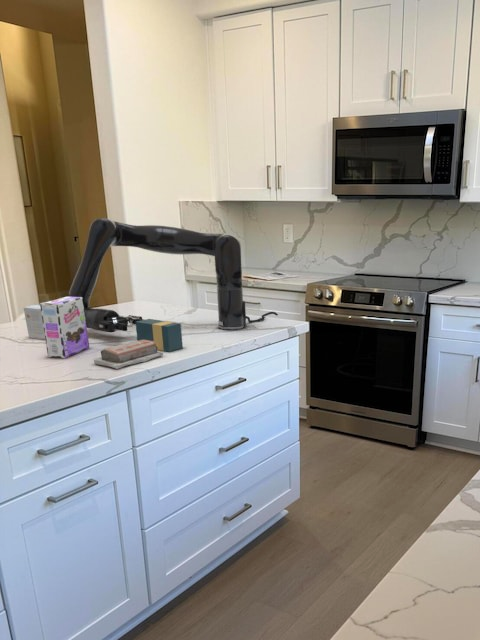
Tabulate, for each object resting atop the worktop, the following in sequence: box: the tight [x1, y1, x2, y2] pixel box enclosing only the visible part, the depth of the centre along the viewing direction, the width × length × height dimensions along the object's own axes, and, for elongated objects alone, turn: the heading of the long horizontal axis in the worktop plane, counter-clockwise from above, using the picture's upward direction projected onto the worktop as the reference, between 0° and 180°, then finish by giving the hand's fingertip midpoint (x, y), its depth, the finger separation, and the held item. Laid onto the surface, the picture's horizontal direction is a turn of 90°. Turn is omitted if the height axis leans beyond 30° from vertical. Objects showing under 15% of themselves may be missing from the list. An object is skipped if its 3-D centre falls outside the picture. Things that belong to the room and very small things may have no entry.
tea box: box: [135, 318, 184, 352], centre depth 196 cm, size 14×6×8 cm, turn 59°
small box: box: [23, 304, 46, 341], centre depth 206 cm, size 8×6×10 cm
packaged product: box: [93, 340, 164, 370], centre depth 180 cm, size 18×5×10 cm
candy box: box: [39, 296, 90, 359], centre depth 186 cm, size 14×6×16 cm, turn 168°
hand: (136, 325), depth 200 cm, fingers open, 8 cm apart
